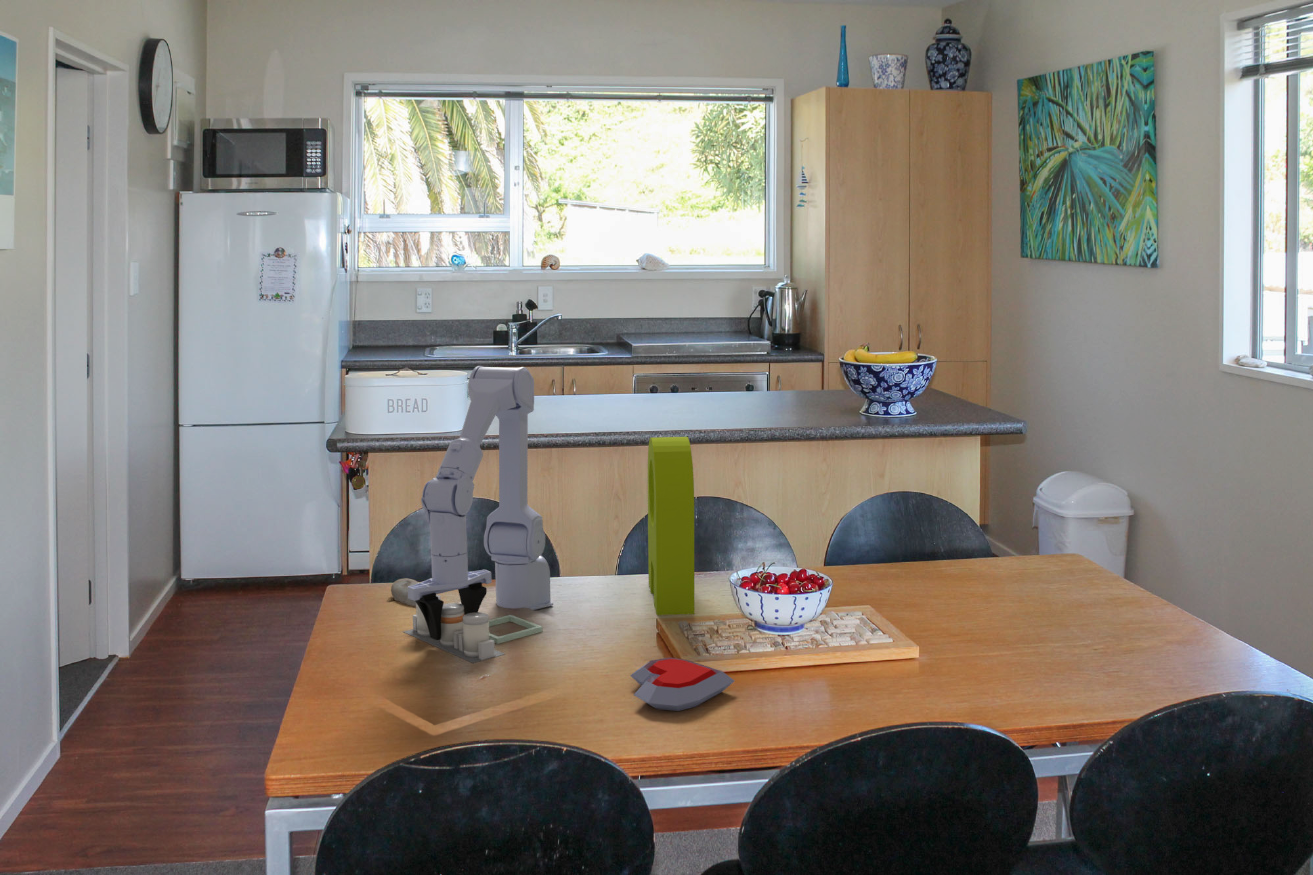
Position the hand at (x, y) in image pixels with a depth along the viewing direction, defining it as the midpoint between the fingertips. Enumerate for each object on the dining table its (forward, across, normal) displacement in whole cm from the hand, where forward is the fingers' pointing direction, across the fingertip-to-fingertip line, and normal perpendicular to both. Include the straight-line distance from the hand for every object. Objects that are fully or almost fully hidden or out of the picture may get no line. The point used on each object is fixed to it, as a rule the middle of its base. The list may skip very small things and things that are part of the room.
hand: (452, 634), depth 189 cm
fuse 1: (+1, 0, -7) cm, 7 cm away
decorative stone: (+3, -8, -27) cm, 28 cm away
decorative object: (+3, -44, +4) cm, 45 cm away
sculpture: (+3, -14, +40) cm, 42 cm away
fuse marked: (+1, 0, 0) cm, 1 cm away
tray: (+2, -10, +1) cm, 10 cm away
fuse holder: (+2, 0, 0) cm, 2 cm away
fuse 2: (+1, 0, +7) cm, 7 cm away
